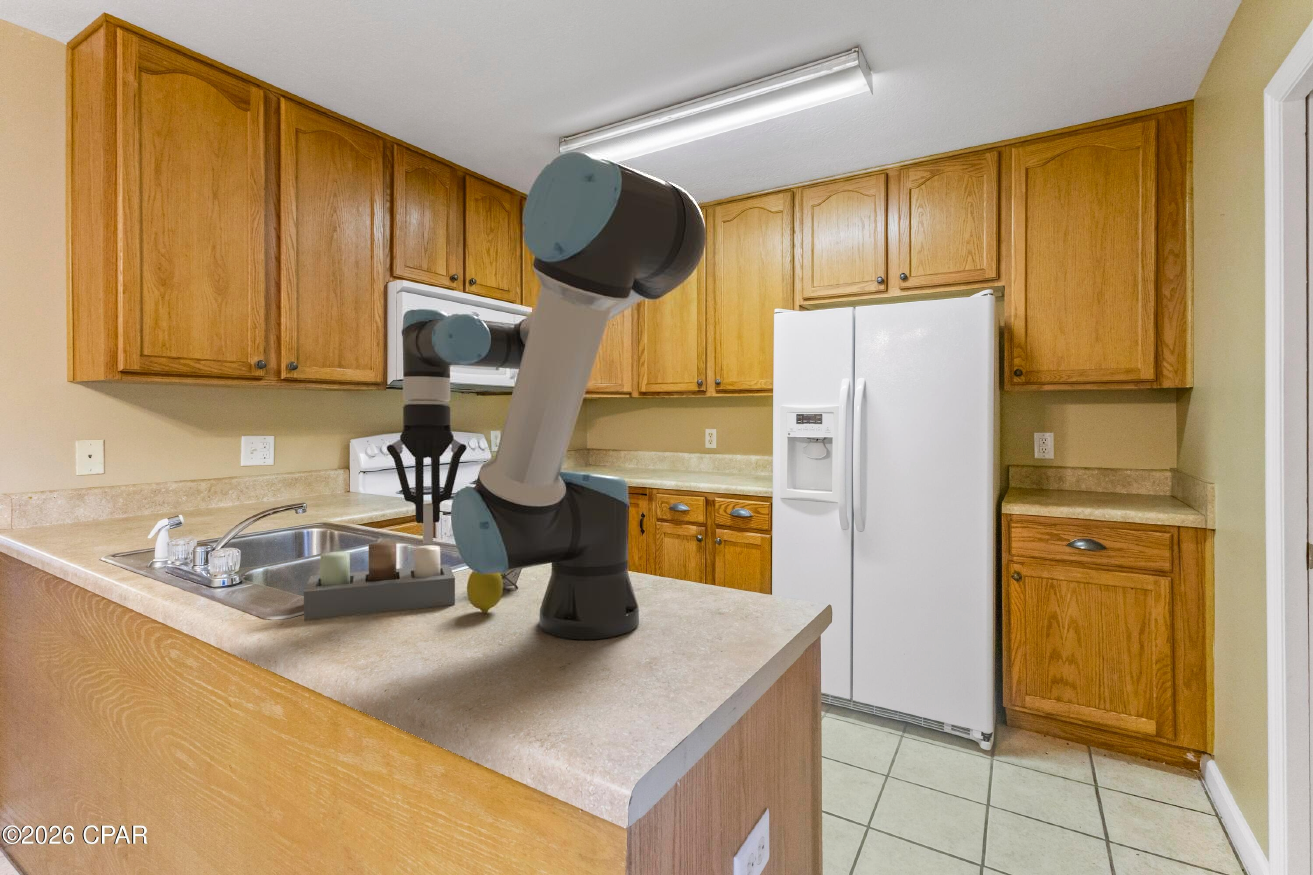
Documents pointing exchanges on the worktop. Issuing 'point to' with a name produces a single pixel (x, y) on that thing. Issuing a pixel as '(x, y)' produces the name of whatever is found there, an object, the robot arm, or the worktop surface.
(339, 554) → the key sage
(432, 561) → the key ivory
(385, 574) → the key walnut
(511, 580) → the wire mesh basket
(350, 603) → the grey slotted block
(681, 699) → the worktop surface
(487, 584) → the lemon
